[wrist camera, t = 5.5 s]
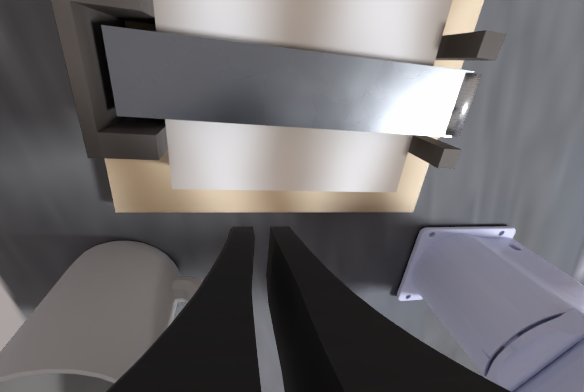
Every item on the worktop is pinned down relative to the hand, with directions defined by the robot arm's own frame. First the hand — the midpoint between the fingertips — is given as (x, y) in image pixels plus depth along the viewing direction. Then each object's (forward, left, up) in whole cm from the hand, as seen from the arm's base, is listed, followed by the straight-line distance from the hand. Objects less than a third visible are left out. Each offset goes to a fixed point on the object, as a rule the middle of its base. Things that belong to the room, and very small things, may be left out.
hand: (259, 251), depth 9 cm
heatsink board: (-2, -5, -10) cm, 11 cm away
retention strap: (-2, -5, -6) cm, 8 cm away
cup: (+7, +9, -10) cm, 15 cm away
